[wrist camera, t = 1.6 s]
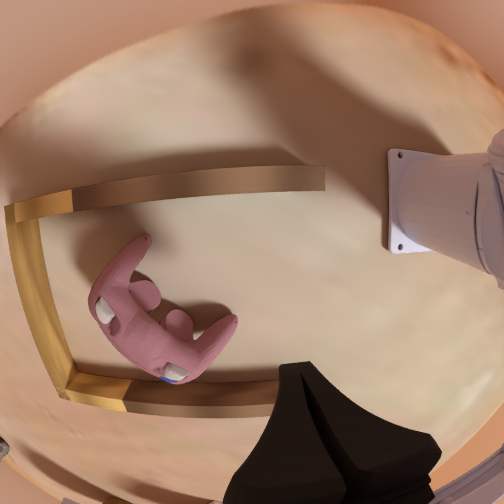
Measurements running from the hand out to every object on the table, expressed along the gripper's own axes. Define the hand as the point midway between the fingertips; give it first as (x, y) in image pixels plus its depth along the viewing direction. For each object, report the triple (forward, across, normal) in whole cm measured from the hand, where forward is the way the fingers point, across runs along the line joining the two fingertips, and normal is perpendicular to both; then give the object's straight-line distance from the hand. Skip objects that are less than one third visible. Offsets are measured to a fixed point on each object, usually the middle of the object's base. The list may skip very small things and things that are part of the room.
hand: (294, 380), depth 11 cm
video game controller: (+10, +8, 0) cm, 12 cm away
